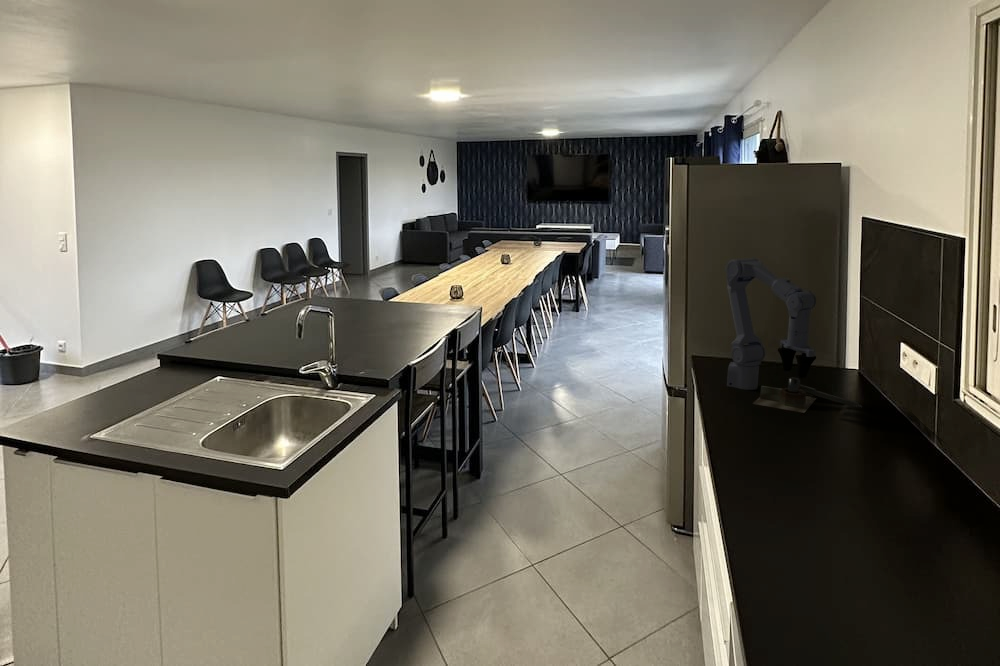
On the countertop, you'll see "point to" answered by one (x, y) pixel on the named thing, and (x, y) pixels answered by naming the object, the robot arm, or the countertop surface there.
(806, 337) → the robot arm
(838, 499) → the countertop surface
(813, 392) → the caliper
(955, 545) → the countertop surface
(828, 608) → the countertop surface
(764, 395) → the hinge base
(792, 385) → the steel pin
